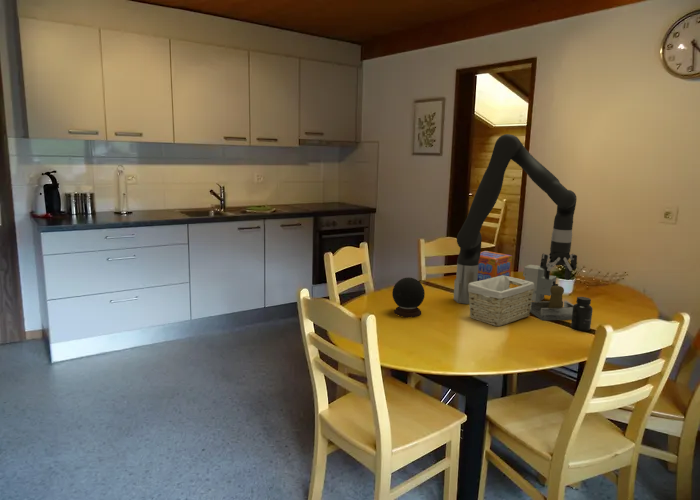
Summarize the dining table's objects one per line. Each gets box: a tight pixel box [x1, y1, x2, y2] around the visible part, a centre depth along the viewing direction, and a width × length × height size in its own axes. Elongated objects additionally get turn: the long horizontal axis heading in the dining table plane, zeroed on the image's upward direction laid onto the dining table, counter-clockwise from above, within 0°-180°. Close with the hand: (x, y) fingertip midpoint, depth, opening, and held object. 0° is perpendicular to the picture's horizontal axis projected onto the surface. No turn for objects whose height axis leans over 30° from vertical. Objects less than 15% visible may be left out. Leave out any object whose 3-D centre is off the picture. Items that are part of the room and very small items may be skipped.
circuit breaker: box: [522, 264, 559, 302], centre depth 227 cm, size 8×14×15 cm, turn 53°
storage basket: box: [468, 275, 534, 327], centre depth 201 cm, size 24×16×15 cm
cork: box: [548, 285, 565, 308], centre depth 205 cm, size 6×6×11 cm
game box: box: [477, 250, 513, 286], centre depth 253 cm, size 16×16×16 cm
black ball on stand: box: [391, 277, 426, 318], centre depth 205 cm, size 13×13×15 cm
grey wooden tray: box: [530, 300, 575, 321], centre depth 206 cm, size 16×12×4 cm
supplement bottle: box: [570, 296, 594, 332], centre depth 190 cm, size 7×7×12 cm
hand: (556, 279), depth 204 cm, fingers open, 8 cm apart
